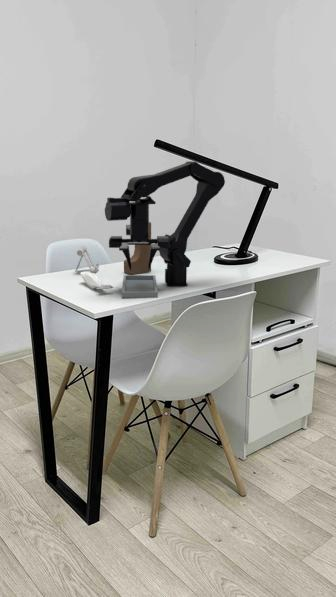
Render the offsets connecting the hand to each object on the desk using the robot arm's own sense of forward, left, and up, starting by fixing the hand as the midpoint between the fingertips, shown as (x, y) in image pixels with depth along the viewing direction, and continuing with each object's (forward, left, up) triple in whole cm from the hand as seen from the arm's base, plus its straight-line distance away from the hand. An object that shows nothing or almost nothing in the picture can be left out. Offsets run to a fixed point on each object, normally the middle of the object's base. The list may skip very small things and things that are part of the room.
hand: (139, 269), depth 175 cm
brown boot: (+1, -24, -7) cm, 25 cm away
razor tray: (0, 0, -6) cm, 7 cm away
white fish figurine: (+14, -2, -7) cm, 16 cm away
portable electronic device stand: (+19, -28, -7) cm, 35 cm away
